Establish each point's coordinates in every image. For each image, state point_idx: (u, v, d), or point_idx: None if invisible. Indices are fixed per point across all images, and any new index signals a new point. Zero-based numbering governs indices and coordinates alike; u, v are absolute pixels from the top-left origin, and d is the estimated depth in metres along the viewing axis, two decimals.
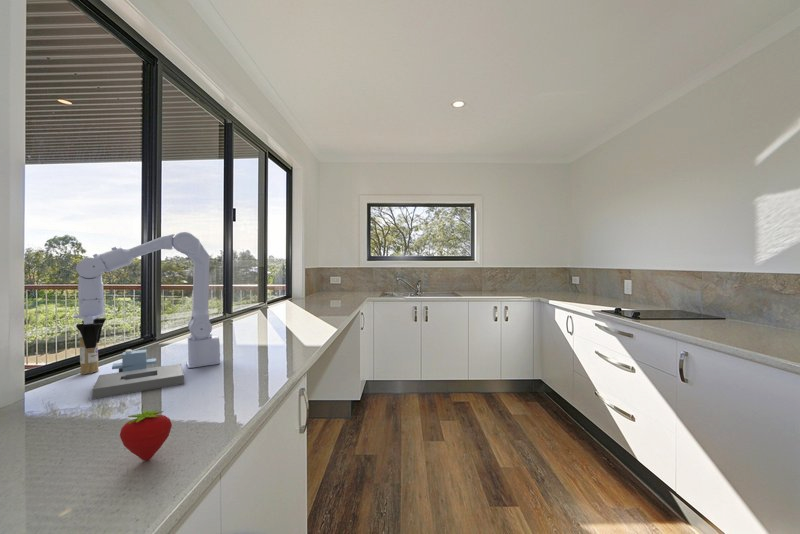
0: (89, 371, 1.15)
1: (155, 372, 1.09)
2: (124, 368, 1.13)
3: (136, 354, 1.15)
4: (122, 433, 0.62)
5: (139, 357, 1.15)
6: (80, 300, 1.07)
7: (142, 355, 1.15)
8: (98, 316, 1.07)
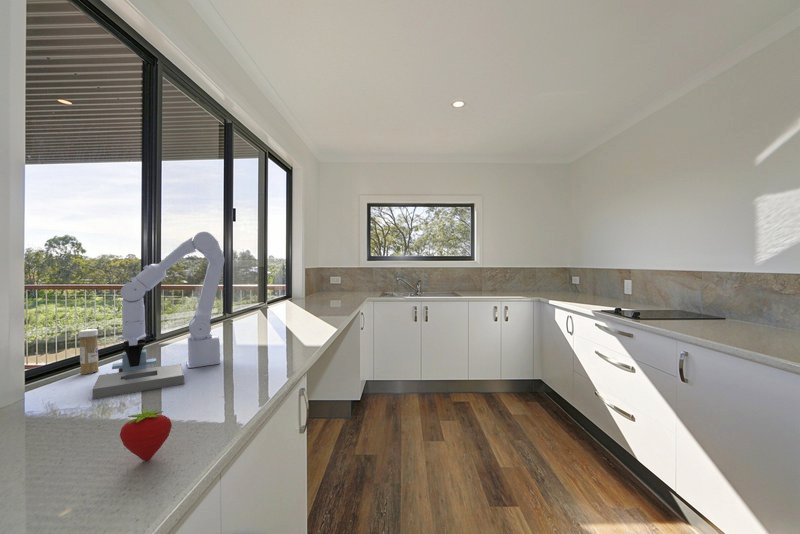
0: (89, 371, 1.15)
1: (155, 372, 1.09)
2: (124, 368, 1.13)
3: None
4: (122, 433, 0.62)
5: None
6: (124, 322, 1.13)
7: (141, 355, 1.15)
8: (141, 337, 1.14)
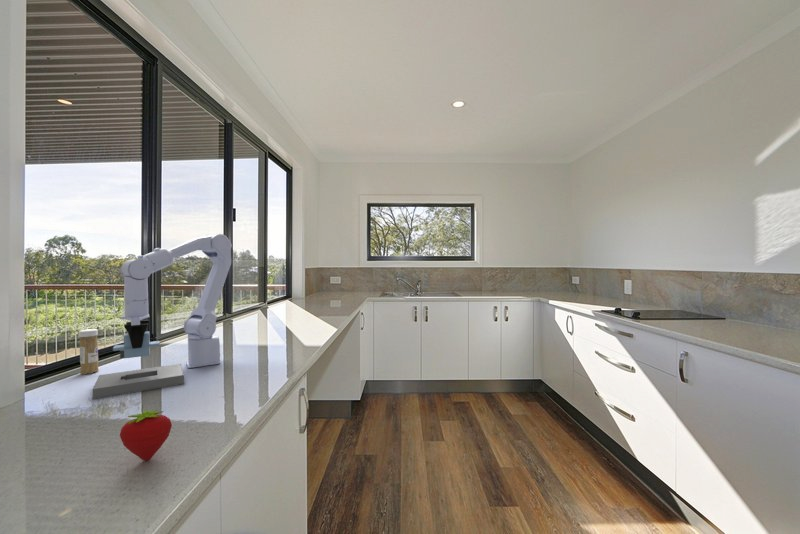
0: (89, 371, 1.15)
1: (155, 372, 1.09)
2: (126, 350, 1.07)
3: None
4: (122, 433, 0.62)
5: None
6: (126, 301, 1.07)
7: (144, 336, 1.09)
8: (144, 317, 1.07)
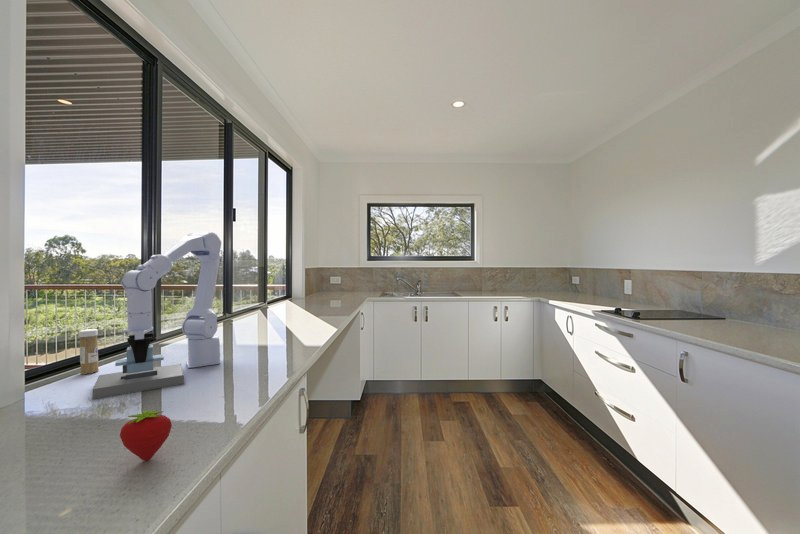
0: (89, 371, 1.15)
1: (155, 372, 1.09)
2: (129, 365, 1.02)
3: None
4: (122, 433, 0.62)
5: None
6: (129, 314, 1.02)
7: (148, 350, 1.04)
8: (148, 330, 1.03)
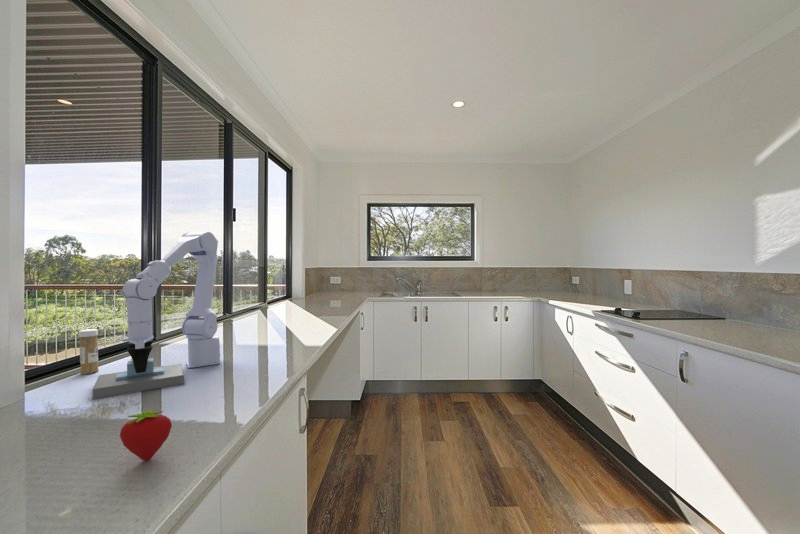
0: (89, 371, 1.15)
1: None
2: None
3: None
4: (122, 433, 0.62)
5: None
6: (130, 323, 1.02)
7: (148, 364, 1.05)
8: (148, 339, 1.03)
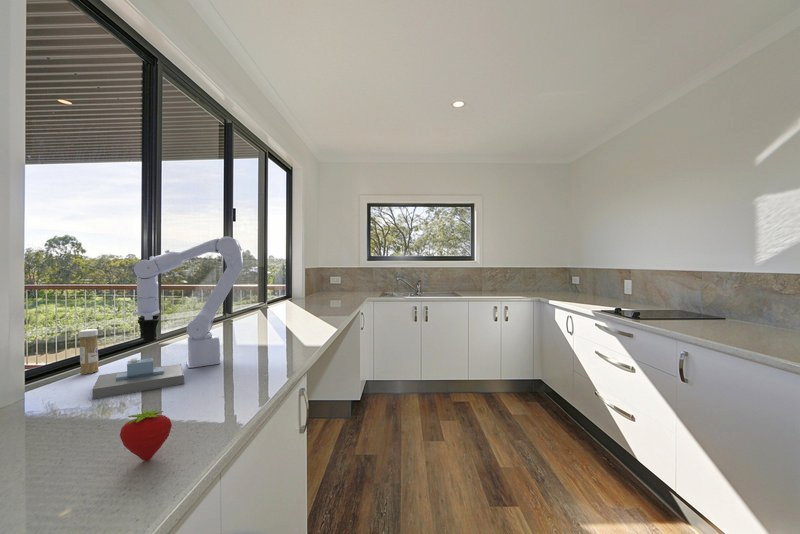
0: (89, 371, 1.15)
1: None
2: None
3: (142, 363, 1.04)
4: (122, 433, 0.62)
5: (146, 367, 1.04)
6: (139, 298, 1.17)
7: (148, 364, 1.05)
8: (155, 313, 1.18)
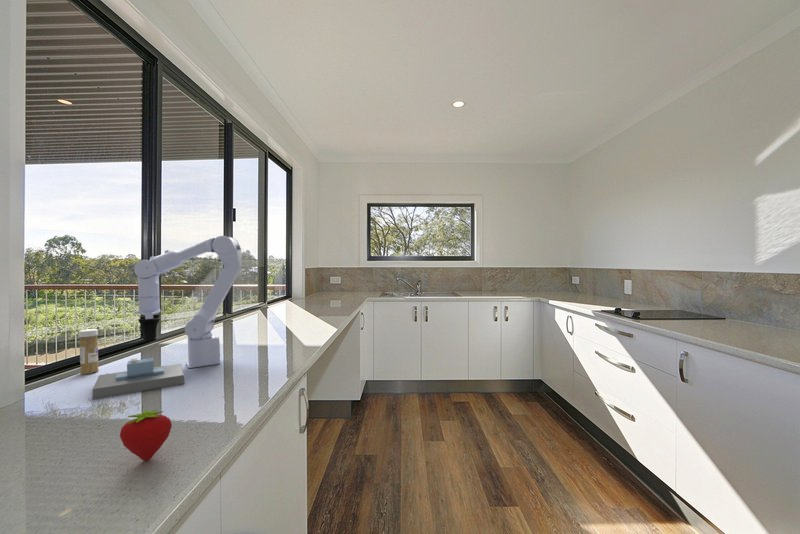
0: (89, 371, 1.15)
1: None
2: None
3: (142, 363, 1.04)
4: (122, 433, 0.62)
5: (146, 367, 1.04)
6: (140, 298, 1.19)
7: (148, 364, 1.05)
8: (156, 312, 1.20)
